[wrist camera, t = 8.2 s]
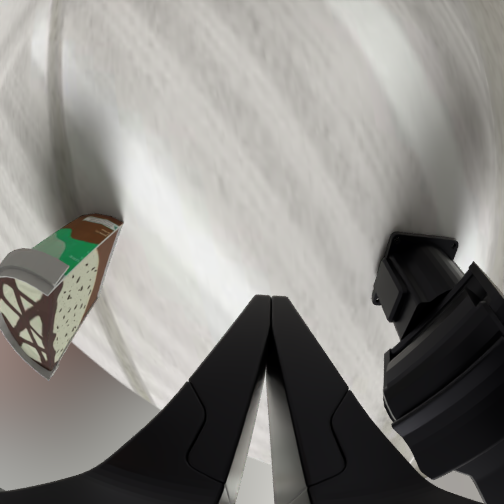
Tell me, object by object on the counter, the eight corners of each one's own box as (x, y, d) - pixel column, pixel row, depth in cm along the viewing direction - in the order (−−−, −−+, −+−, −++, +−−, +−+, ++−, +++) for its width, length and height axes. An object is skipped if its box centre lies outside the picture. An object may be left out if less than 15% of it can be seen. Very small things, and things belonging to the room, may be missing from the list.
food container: (69, 170, 18) (-25, 227, 10) (129, 207, 20) (48, 288, 11) (50, 275, 24) (-5, 341, 15) (96, 306, 25) (48, 383, 17)
